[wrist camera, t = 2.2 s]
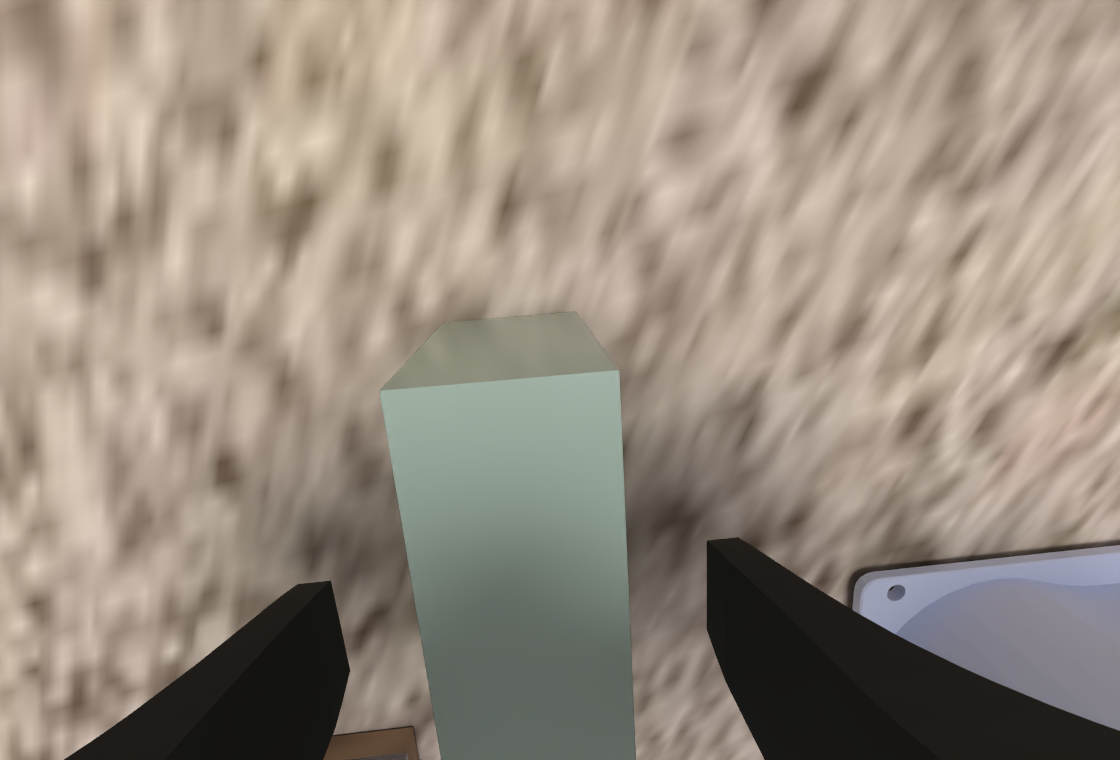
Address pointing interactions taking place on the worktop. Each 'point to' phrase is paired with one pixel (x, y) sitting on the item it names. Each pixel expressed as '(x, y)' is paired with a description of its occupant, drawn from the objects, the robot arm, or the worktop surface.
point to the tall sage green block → (517, 537)
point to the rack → (374, 746)
